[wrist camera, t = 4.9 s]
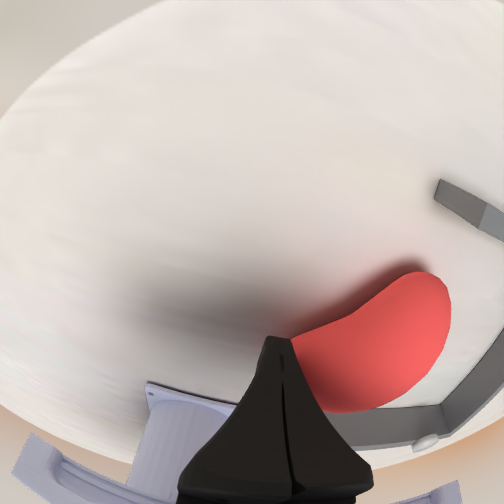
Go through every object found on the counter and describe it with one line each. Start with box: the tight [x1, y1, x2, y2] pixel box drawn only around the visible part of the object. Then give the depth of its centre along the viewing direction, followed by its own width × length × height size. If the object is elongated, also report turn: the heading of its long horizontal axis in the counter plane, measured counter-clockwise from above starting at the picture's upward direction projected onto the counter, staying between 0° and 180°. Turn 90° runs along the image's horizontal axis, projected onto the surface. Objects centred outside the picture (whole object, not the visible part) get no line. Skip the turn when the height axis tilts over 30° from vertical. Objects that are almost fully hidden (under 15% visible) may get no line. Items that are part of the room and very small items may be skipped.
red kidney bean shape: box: [290, 272, 451, 414], centre depth 11 cm, size 5×9×6 cm, turn 117°
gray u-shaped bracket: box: [323, 179, 504, 452], centre depth 12 cm, size 19×14×4 cm
